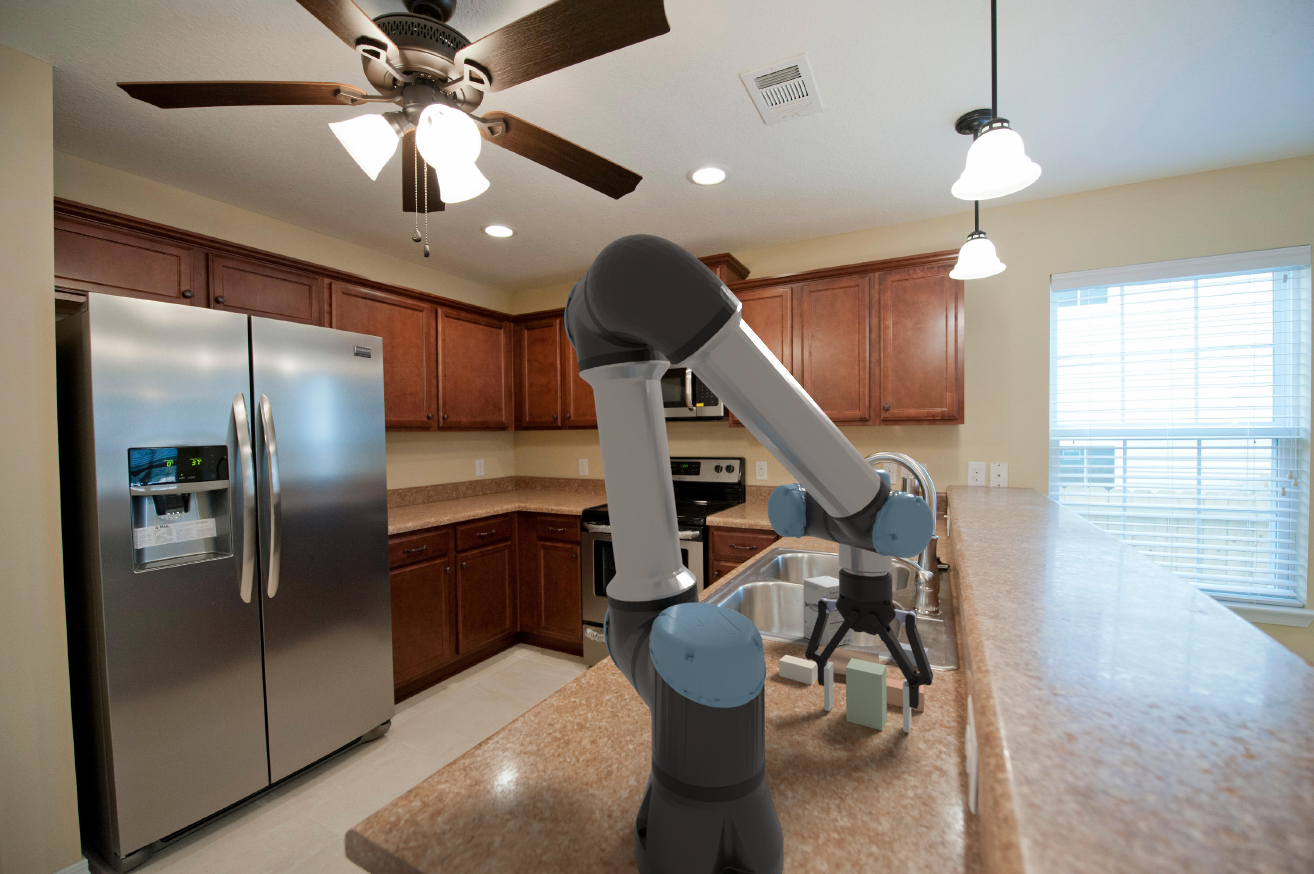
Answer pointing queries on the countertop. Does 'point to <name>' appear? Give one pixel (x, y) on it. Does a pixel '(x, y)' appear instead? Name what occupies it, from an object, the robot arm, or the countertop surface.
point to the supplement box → (812, 595)
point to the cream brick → (798, 669)
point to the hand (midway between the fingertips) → (866, 716)
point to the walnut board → (847, 660)
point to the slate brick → (910, 653)
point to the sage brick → (866, 693)
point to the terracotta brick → (896, 693)
